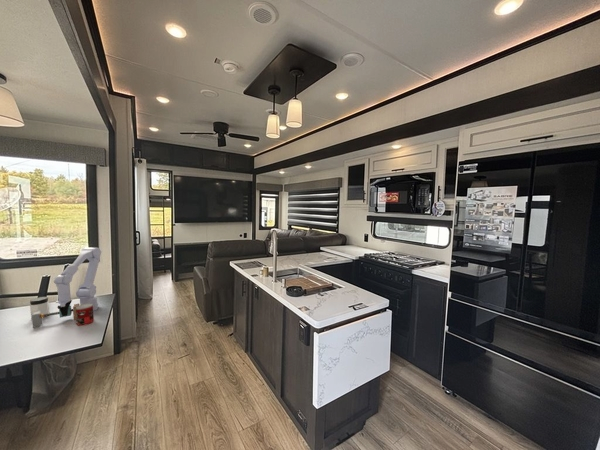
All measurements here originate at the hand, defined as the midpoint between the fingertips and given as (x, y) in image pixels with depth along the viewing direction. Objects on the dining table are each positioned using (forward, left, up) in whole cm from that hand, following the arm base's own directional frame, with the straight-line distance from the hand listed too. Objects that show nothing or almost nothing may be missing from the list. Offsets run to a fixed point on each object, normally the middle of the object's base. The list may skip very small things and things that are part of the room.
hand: (65, 313), depth 157 cm
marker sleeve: (0, 0, -1) cm, 1 cm away
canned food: (-11, +13, -4) cm, 17 cm away
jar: (+14, -17, -4) cm, 23 cm away
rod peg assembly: (+3, 0, -4) cm, 5 cm away
